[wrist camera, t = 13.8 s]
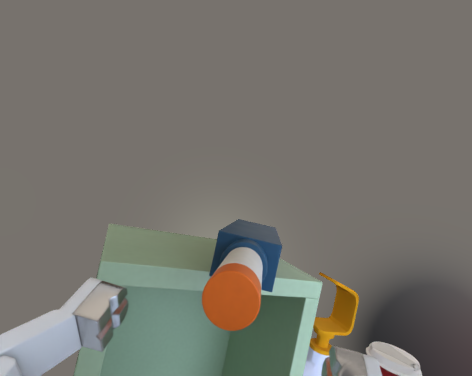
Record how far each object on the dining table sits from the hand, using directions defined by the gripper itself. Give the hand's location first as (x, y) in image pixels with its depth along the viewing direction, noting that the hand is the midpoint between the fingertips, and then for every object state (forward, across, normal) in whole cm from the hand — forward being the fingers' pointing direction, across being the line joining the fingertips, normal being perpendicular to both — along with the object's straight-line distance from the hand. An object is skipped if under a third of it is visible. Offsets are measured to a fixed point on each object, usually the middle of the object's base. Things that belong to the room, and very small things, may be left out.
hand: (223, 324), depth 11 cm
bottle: (+9, 0, +6) cm, 11 cm away
